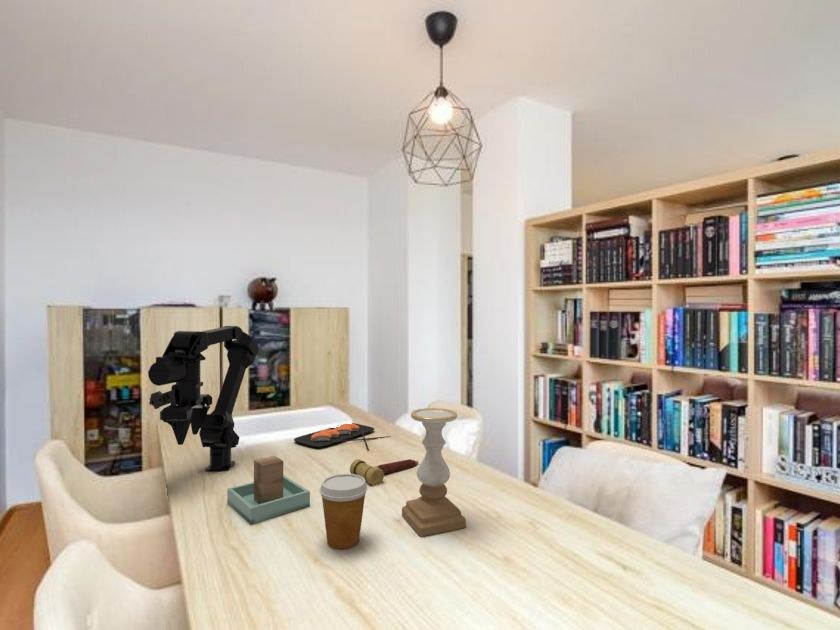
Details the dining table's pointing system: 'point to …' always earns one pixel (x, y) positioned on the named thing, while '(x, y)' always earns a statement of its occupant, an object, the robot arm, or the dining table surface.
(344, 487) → the disposable coffee cup
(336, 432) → the sushi plate
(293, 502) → the box
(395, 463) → the gavel
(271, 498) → the walnut block
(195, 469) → the dining table surface
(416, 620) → the dining table surface
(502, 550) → the dining table surface
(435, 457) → the candle holder
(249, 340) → the robot arm
